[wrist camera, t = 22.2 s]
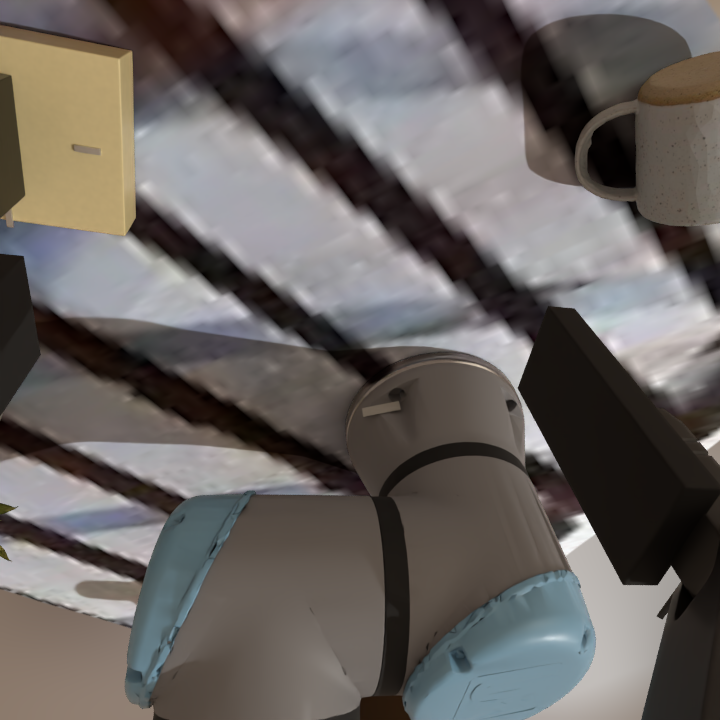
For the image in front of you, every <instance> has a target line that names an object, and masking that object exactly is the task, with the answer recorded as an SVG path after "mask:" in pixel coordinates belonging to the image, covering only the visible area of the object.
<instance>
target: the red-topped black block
mask: <svg viewBox="0 0 720 720" xmlns="http://www.w3.org/2000/svg"><path fill="white" fill-rule="evenodd" d="M24 196H25V187H24V178H23V170H22V161H21V153H20V144H19V136H18V127H17V118H16V110H15V101H14V93H13V84H12V76H11V75H7V74H2V73H0V219H1V218H2V217H3V216H4V215H5V214H6V213H7V212H8V211H9V210H10V209H11V208H12V207H14V206H15V205H16V204H17V203H18V202H19V201H20V200H21V199H22V198H23V197H24Z"/></svg>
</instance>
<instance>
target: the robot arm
mask: <svg viewBox="0 0 720 720" xmlns="http://www.w3.org/2000/svg"><path fill="white" fill-rule="evenodd" d="M40 355H41V353H40V348H39V342H38V336H37V330H36V325H35V319H34V313H33V307H32V302H31V296H30V290H29V285H28V279H27V273H26V267H25V262H24V256H17V255H6V254H0V416H1V414H2V413H3V411H4V410H5V408H6V407H7V405H8V404H9V402H10V401H11V399H12V398H13V396H14V395H15V393H16V392H17V390H18V389H19V387H20V386H21V384H22V382H23V381H24V379H25V378H26V376H27V375H28V373H29V372H30V370H31V369H32V367H33V366H34V364H35V363H36V361H37V360H38V358H39V357H40ZM518 390H519V391H520V393H521V395H522V397H523V399H524V401H525V403H526V405H527V406H528V408H529V410H530V412H531V414H532V416H533V418H534V419H535V421H536V423H537V425H538V427H539V429H540V431H541V433H542V434H543V436H544V438H545V440H546V442H547V444H548V446H549V447H550V449H551V451H552V453H553V455H554V457H555V459H556V461H557V462H558V464H559V466H560V468H561V470H562V472H563V474H564V476H565V477H566V479H567V481H568V483H569V485H570V487H571V489H572V490H573V492H574V494H575V496H576V498H577V500H578V502H579V504H580V505H581V507H582V509H583V511H584V513H585V515H586V517H587V518H588V520H589V522H590V524H591V526H592V528H593V530H594V532H595V533H596V535H597V537H598V539H599V541H600V543H601V544H602V546H603V548H604V550H605V552H606V554H607V556H608V558H609V560H610V561H611V563H612V565H613V567H614V569H615V571H616V573H617V574H618V576H619V578H620V580H621V582H622V584H623V585H658V584H659V582H660V581H661V579H662V578H663V576H664V575H665V573H666V572H667V571H668V569H669V568H670V566H672V567H673V569H674V570H675V572H676V574H677V575H678V576H679V578H680V579H681V583H680V584H679V585H678V587H677V588H676V589H675V591H674V592H673V594H672V595H671V596H670V598H669V599H668V601H667V602H666V603H665V605H664V606H663V608H662V609H661V611H660V612H659V613H658V615H657V617H659V618H661V619H663V618H664V616H665V615H666V614H667V613H668V615H667V619H666V623H665V627H664V631H663V635H662V639H661V643H660V647H659V651H658V655H657V659H656V664H655V667H654V671H653V676H652V680H651V683H650V687H649V691H648V695H647V699H646V703H645V707H644V711H643V715H642V719H641V720H720V465H719V464H718V463H717V462H716V461H715V460H714V459H713V457H712V456H708V451H707V450H706V449H705V448H704V447H703V446H702V444H701V443H700V442H697V439H696V437H695V436H694V435H693V434H692V433H691V432H690V430H689V429H688V428H687V427H686V426H685V425H684V424H683V423H682V422H681V421H680V420H678V419H677V418H675V417H674V416H673V415H671V414H670V413H669V412H667V411H666V410H665V409H663V408H656V407H655V405H654V404H653V403H652V402H651V401H650V399H649V398H648V397H647V396H646V395H645V393H644V392H643V391H642V390H641V388H640V387H639V386H638V385H637V384H636V382H635V381H634V380H633V379H632V378H631V376H630V375H629V374H628V373H627V372H626V370H625V369H624V368H623V367H622V366H621V364H620V363H619V362H618V361H617V359H616V358H615V357H614V356H613V355H612V353H611V352H610V351H609V350H608V349H607V347H606V346H605V345H604V344H603V343H602V341H601V340H600V339H599V338H598V337H597V335H596V334H595V333H594V332H593V331H592V329H591V328H590V327H589V326H588V324H587V323H586V322H585V321H584V320H583V318H582V317H581V316H580V315H579V314H578V312H577V311H576V310H575V309H573V308H562V307H552V306H548V308H547V311H546V313H545V316H544V319H543V321H542V324H541V327H540V330H539V332H538V335H537V338H536V340H535V343H534V346H533V348H532V351H531V354H530V357H529V359H528V362H527V365H526V367H525V370H524V373H523V375H522V378H521V381H520V384H519V386H518ZM345 432H346V442H347V449H348V453H349V456H350V459H351V462H352V464H353V466H354V468H355V470H356V472H357V473H358V475H359V476H360V478H361V480H362V482H363V483H364V485H365V487H366V488H367V490H368V492H369V493H370V495H371V496H338V495H256V492H255V491H247V492H245V493H244V494H225V495H201V496H195V497H192V498H190V499H188V500H186V501H184V502H183V503H181V504H180V505H179V506H178V507H177V508H176V509H175V510H174V511H173V512H172V514H171V515H170V516H169V518H168V520H167V521H166V523H165V525H164V527H163V529H162V531H161V533H160V536H159V538H158V540H157V543H156V545H155V548H154V550H153V553H152V556H151V559H150V562H149V565H148V568H147V571H146V574H145V578H144V581H143V585H142V588H141V592H140V596H139V599H138V603H137V607H136V612H135V616H134V621H133V625H132V631H131V635H130V640H129V646H128V653H127V664H128V667H127V673H126V679H125V692H126V695H127V698H128V699H129V701H130V702H131V703H133V704H137V705H139V706H140V708H142V709H144V708H150V707H151V706H152V705H153V707H154V717H153V720H360V701H361V698H363V697H370V696H395V695H401V696H403V697H402V700H403V706H404V708H405V711H406V712H407V713H408V714H409V717H410V719H411V720H524V719H527V718H529V717H531V716H533V715H535V714H537V713H538V712H541V711H542V710H544V709H546V708H548V707H549V706H551V705H553V704H554V703H556V702H557V701H558V700H560V699H561V698H562V697H564V696H565V695H566V694H567V693H568V692H570V691H571V690H572V689H573V688H574V687H575V686H576V685H577V684H578V683H579V682H580V681H581V679H582V678H583V677H584V675H585V674H586V672H587V671H588V669H589V667H590V665H591V663H592V660H593V657H594V654H595V647H596V637H595V631H594V628H593V625H592V622H591V619H590V616H589V613H588V610H587V607H586V604H585V601H584V599H583V596H582V593H581V590H580V588H581V586H580V583H579V580H578V578H577V576H576V575H575V574H574V573H573V572H572V570H571V568H570V566H569V564H568V562H567V559H566V557H565V555H564V553H563V550H562V548H561V546H560V544H559V541H558V539H557V537H556V535H555V533H554V530H553V528H552V526H551V524H550V522H549V519H548V517H547V515H546V513H545V511H544V508H543V506H542V504H541V502H540V500H539V497H538V495H537V493H536V491H535V489H534V486H533V484H532V482H531V480H530V478H529V476H528V473H527V471H526V469H525V424H524V415H523V411H522V406H521V403H520V400H519V398H518V396H517V394H516V392H515V390H514V388H513V386H512V384H511V382H510V381H509V380H508V378H507V377H506V376H505V375H504V374H503V373H502V372H501V371H500V370H499V369H498V368H496V367H495V366H493V365H492V364H490V363H489V362H487V361H484V360H482V359H480V358H477V357H474V356H471V355H467V354H461V353H452V352H437V353H428V354H422V355H418V356H414V357H410V358H407V359H404V360H402V361H399V362H397V363H395V364H393V365H391V366H389V367H387V368H385V369H384V370H382V371H381V372H379V373H378V374H377V375H375V376H374V377H373V378H371V379H370V380H369V381H368V382H367V383H366V384H365V385H364V386H363V387H362V388H361V390H360V391H359V392H358V394H357V395H356V396H355V398H354V400H353V402H352V403H351V406H350V408H349V410H348V414H347V418H346V424H345Z"/></svg>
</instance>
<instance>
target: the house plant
mask: <svg viewBox="0 0 720 720" xmlns="http://www.w3.org/2000/svg"><path fill="white" fill-rule="evenodd" d="M2 414H3V413H2ZM2 414H1V416H0V420H1V417H2ZM15 508H17V507H15ZM15 508H14V507H12V506H9V505H6V504H2V503H0V514H4V513H7V512H9V511H11V510H14V509H15ZM0 521H1V520H0ZM0 556H1V557H2V558H4V559H6V560H8V561H10V560H9V559H8V557H7V554H6V552H5V550H4V549H3V548H2V547H1V546H0Z"/></svg>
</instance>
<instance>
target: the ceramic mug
mask: <svg viewBox="0 0 720 720" xmlns="http://www.w3.org/2000/svg"><path fill="white" fill-rule="evenodd" d="M629 113H635V144H636V187H635V188H632V189H631V188H627V189H622V188H613V187H608V186H603V185H601V184H599V183H597V182H595V181H593V180H592V179H591V178H590V176H589V173H588V171H587V153H588V149H589V147H590V146H591V144H592V143H591V137H592V135H593V132H594V131H595V130H596V129H597V128H598V127H599V126H601V125H602V124H604V123H605V122H606V121H609V120H611V119H614V118H616V117H619V116H622V115H627V114H629ZM575 171H576V174H577V178H578V180H579V182H580V183H581V184H582V185H583V187H584V188H585V189H587V190H588V191H590V192H591V193H593V194H594V195H596V196H599V197H601V198H605V199H610V200H615V201H636V202H637V208H638V210H639V211H640V213H641V214H642V215H643V216H644V217H645V218H647V219H649V220H651V221H654V222H657V223H661V224H667V225H676V226H698V225H709V224H716V223H720V51H719V52H713V53H709V54H704V55H700V56H697V57H693V58H690V59H686V60H683V61H681V62H678V63H675V64H672V65H670V66H668V67H666V68H664V69H662V70H660V71H658V72H656V73H655V74H653V75H652V76H651V77H650V78H649V79H648V80H647V81H646V82H645V83H644V84H643V85H642V87H641V88H640V90H639V93H638V97H637V99H636V100H634V101H629V102H623V103H619V104H616V105H614V106H612V107H610V108H608V109H606V110H604V111H602V112H600V113H599V114H597V115H596V116H595V117H593V118H592V119H591V120H590V121H589V122H588V123H587V124H586V126H585V127H584V129H583V130H582V132H581V134H580V136H579V139H578V141H577V143H576V150H575Z"/></svg>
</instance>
